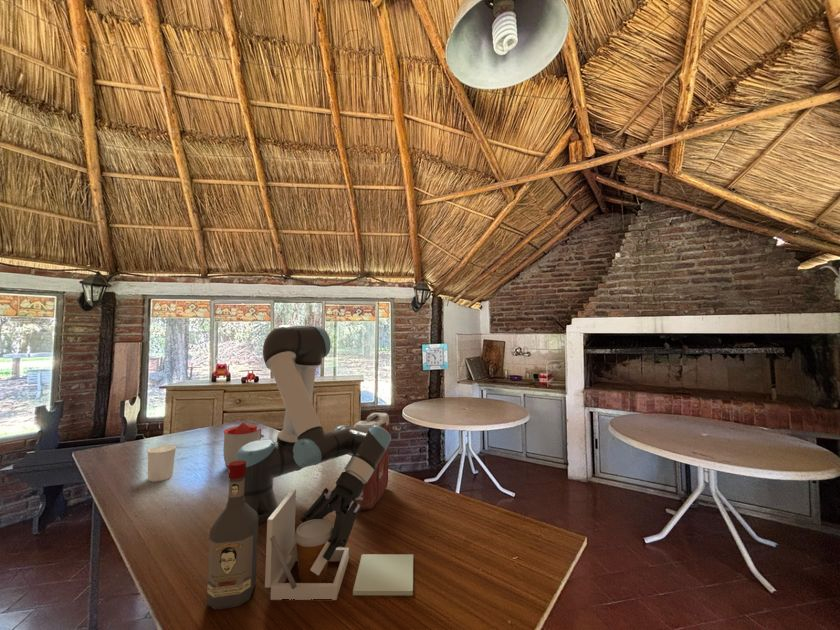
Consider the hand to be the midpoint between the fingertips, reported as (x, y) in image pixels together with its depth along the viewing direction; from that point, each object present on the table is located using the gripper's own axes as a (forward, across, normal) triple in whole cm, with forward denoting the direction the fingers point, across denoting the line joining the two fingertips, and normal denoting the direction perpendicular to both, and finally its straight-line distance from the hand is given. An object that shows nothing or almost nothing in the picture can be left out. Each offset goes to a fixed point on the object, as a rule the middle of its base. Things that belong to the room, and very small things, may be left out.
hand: (302, 563), depth 87 cm
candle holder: (+5, +103, -2) cm, 103 cm away
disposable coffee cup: (+1, 0, -6) cm, 6 cm away
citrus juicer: (-15, +90, -23) cm, 94 cm away
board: (-8, -13, -14) cm, 21 cm away
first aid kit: (-26, +21, -34) cm, 48 cm away
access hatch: (+1, 0, -6) cm, 6 cm away
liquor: (+12, +9, +5) cm, 16 cm away
